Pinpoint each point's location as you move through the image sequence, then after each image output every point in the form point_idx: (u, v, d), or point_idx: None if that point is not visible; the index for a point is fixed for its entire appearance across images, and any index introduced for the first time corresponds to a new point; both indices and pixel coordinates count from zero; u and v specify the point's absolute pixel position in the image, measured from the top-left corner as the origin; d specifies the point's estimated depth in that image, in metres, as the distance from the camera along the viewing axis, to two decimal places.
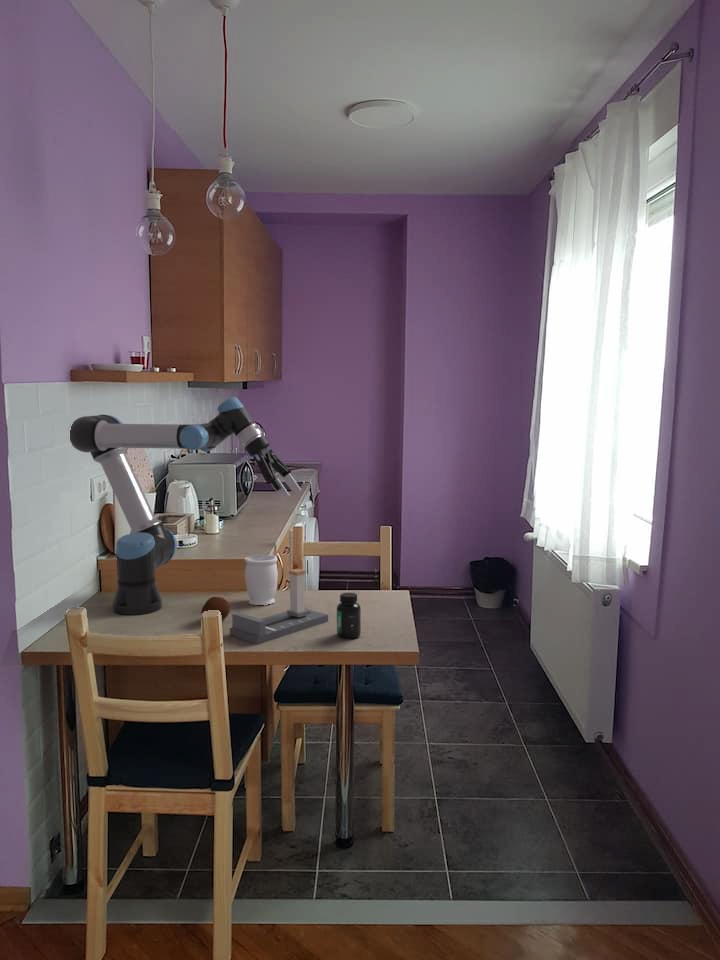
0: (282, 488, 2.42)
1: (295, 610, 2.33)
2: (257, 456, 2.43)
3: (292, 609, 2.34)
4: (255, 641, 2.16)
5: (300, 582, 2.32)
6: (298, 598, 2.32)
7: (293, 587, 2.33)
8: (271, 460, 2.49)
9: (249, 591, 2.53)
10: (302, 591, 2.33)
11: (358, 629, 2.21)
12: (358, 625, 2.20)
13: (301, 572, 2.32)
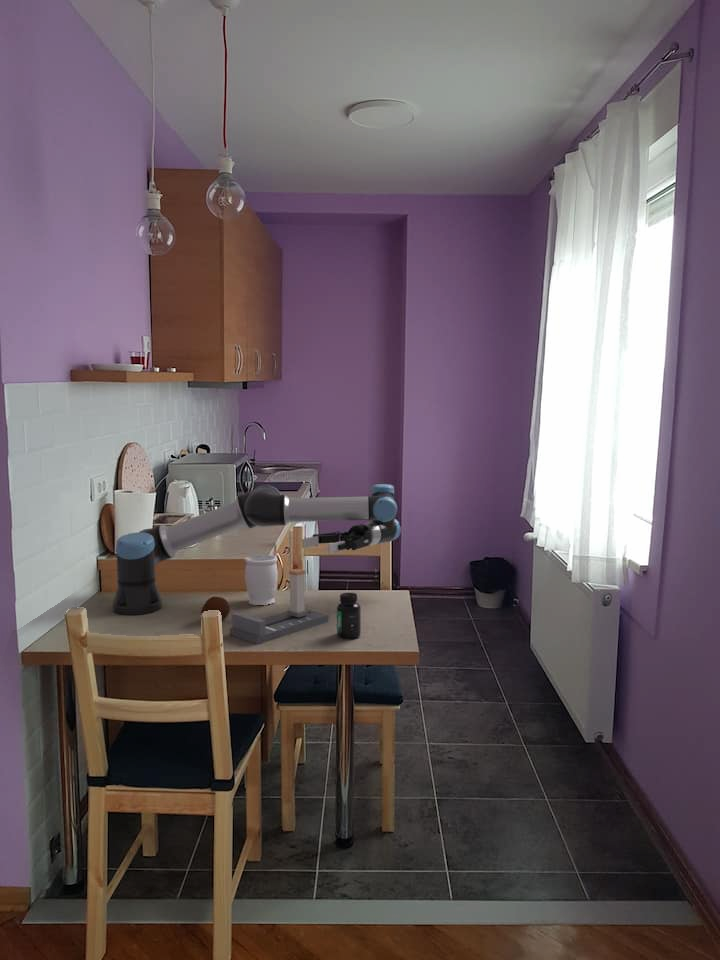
0: (337, 550, 2.36)
1: (295, 610, 2.33)
2: (367, 541, 2.45)
3: (292, 609, 2.34)
4: (255, 641, 2.16)
5: (300, 582, 2.32)
6: (298, 598, 2.32)
7: (293, 587, 2.33)
8: None
9: (249, 591, 2.53)
10: (302, 591, 2.33)
11: (358, 629, 2.21)
12: (358, 625, 2.20)
13: (301, 572, 2.32)
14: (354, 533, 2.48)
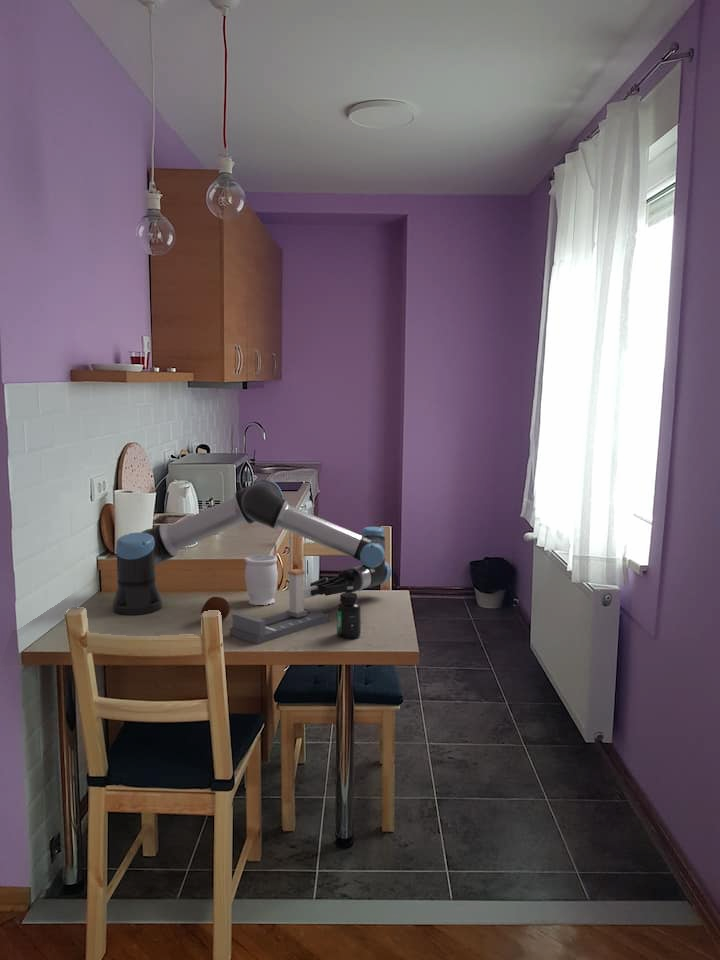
0: (310, 595, 2.37)
1: (294, 610, 2.33)
2: (351, 588, 2.42)
3: (291, 609, 2.33)
4: (255, 641, 2.16)
5: (299, 582, 2.32)
6: (297, 598, 2.32)
7: (292, 587, 2.32)
8: None
9: (249, 591, 2.53)
10: (301, 591, 2.33)
11: (358, 629, 2.21)
12: (358, 625, 2.20)
13: (300, 572, 2.32)
14: (342, 578, 2.46)
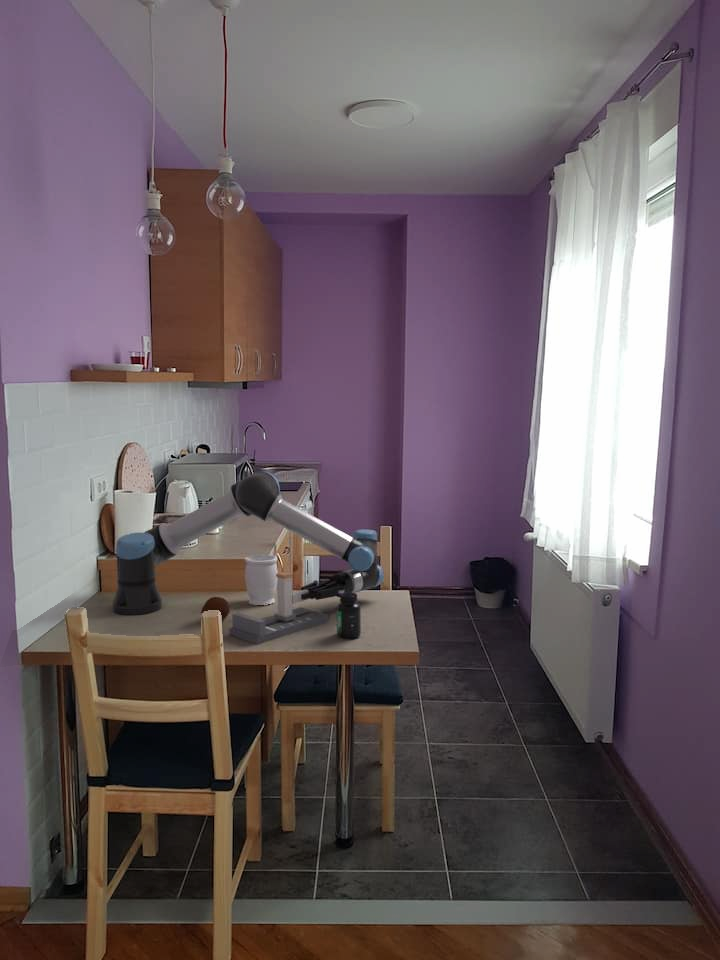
0: (300, 599, 2.33)
1: (282, 614, 2.29)
2: (342, 592, 2.38)
3: (279, 613, 2.30)
4: (255, 641, 2.16)
5: (287, 585, 2.29)
6: (285, 601, 2.28)
7: (280, 590, 2.29)
8: None
9: (249, 591, 2.53)
10: (290, 594, 2.30)
11: (358, 629, 2.21)
12: (358, 625, 2.20)
13: (288, 575, 2.28)
14: (333, 582, 2.42)
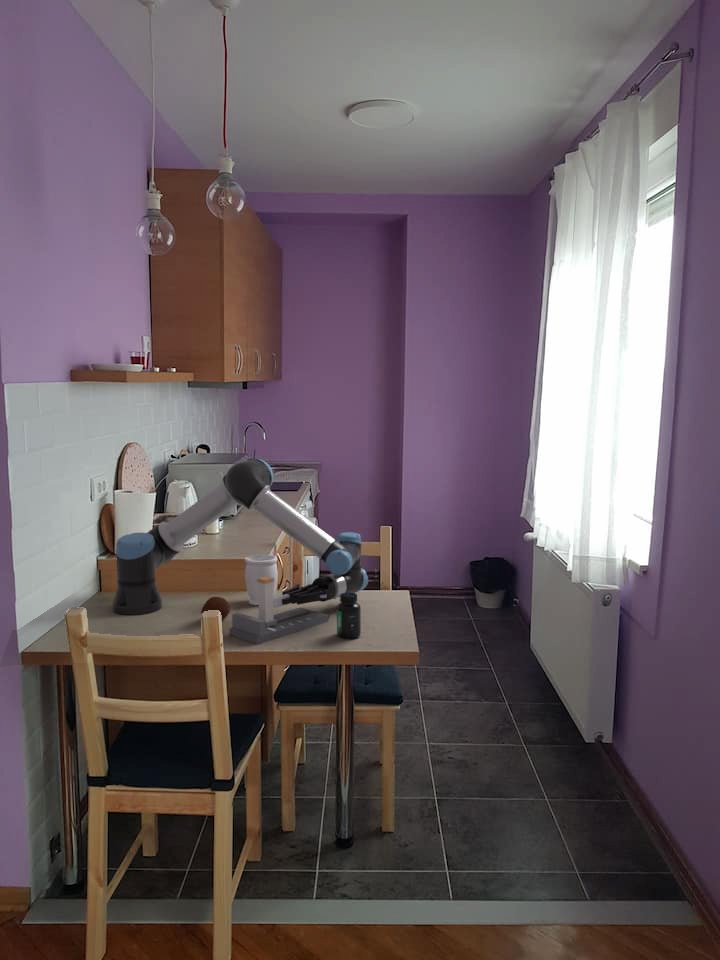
0: (281, 604, 2.28)
1: (263, 619, 2.24)
2: (324, 596, 2.33)
3: (260, 618, 2.24)
4: (255, 641, 2.16)
5: (268, 590, 2.23)
6: (266, 607, 2.23)
7: (261, 595, 2.23)
8: None
9: (249, 591, 2.53)
10: (271, 600, 2.24)
11: (358, 629, 2.21)
12: (358, 625, 2.20)
13: (269, 580, 2.23)
14: (316, 586, 2.36)
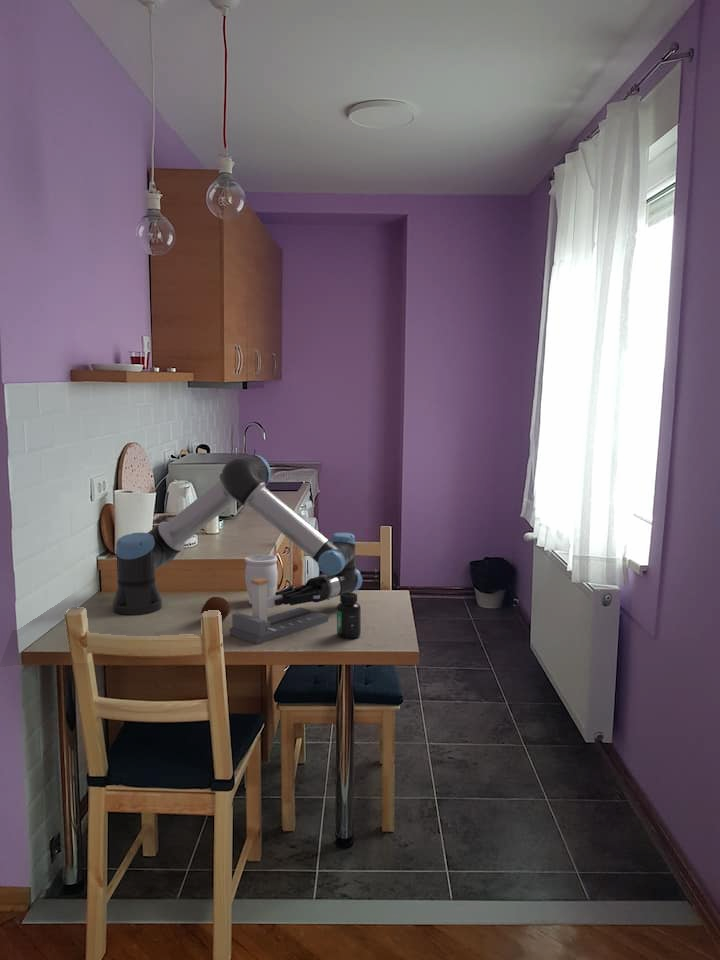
0: (274, 605, 2.26)
1: None
2: (317, 597, 2.32)
3: None
4: (255, 641, 2.16)
5: (262, 592, 2.21)
6: (260, 608, 2.21)
7: (255, 597, 2.22)
8: None
9: (249, 591, 2.53)
10: (264, 601, 2.22)
11: (358, 629, 2.21)
12: (358, 625, 2.20)
13: (263, 581, 2.21)
14: (309, 587, 2.35)
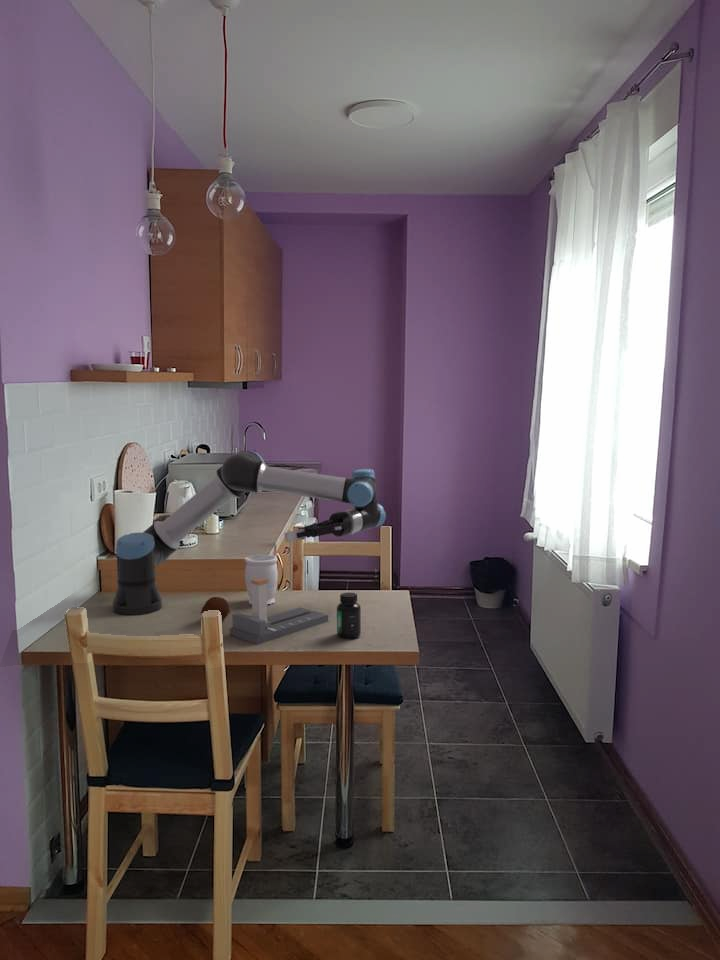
0: (296, 538, 2.33)
1: None
2: (339, 528, 2.38)
3: None
4: (255, 641, 2.16)
5: (262, 592, 2.21)
6: (260, 608, 2.21)
7: (255, 597, 2.22)
8: None
9: (249, 591, 2.53)
10: (264, 601, 2.22)
11: (358, 629, 2.21)
12: (358, 625, 2.20)
13: (263, 581, 2.21)
14: (330, 521, 2.41)
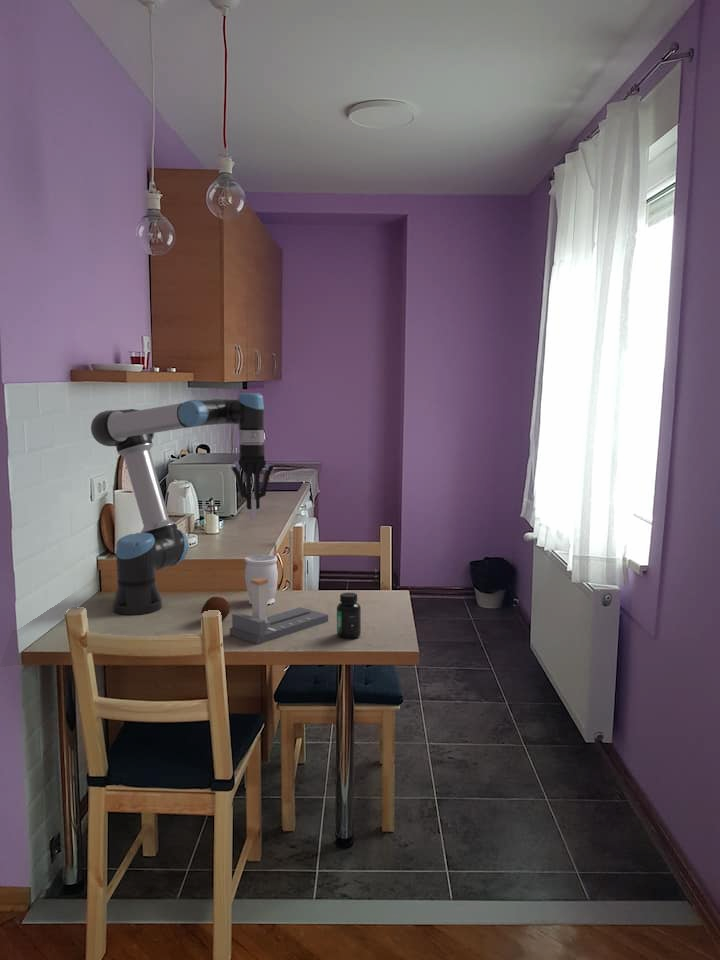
0: (251, 510, 2.41)
1: None
2: (232, 470, 2.39)
3: None
4: (255, 641, 2.16)
5: (262, 592, 2.21)
6: (260, 608, 2.21)
7: (255, 597, 2.22)
8: (252, 471, 2.40)
9: (249, 591, 2.53)
10: (264, 601, 2.22)
11: (358, 629, 2.21)
12: (358, 625, 2.20)
13: (263, 581, 2.21)
14: None
